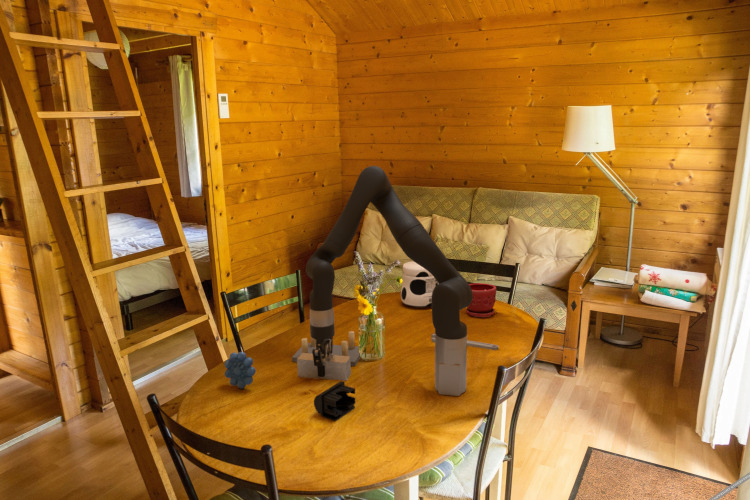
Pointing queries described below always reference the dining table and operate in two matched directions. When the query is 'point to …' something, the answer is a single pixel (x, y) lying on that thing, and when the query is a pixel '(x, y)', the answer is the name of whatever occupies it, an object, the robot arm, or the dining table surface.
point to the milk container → (417, 285)
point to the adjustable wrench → (475, 344)
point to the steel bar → (334, 367)
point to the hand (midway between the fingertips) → (324, 372)
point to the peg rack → (337, 349)
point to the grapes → (239, 369)
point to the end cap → (335, 401)
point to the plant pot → (482, 300)
